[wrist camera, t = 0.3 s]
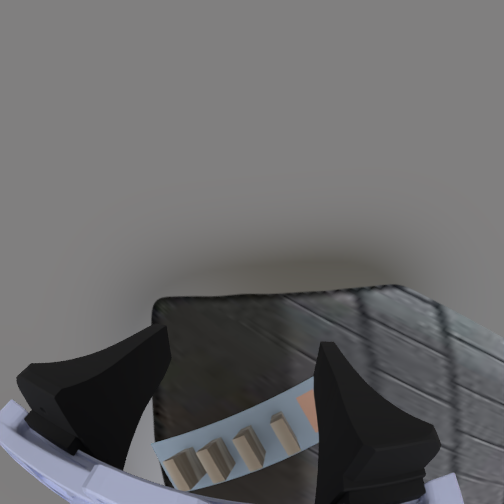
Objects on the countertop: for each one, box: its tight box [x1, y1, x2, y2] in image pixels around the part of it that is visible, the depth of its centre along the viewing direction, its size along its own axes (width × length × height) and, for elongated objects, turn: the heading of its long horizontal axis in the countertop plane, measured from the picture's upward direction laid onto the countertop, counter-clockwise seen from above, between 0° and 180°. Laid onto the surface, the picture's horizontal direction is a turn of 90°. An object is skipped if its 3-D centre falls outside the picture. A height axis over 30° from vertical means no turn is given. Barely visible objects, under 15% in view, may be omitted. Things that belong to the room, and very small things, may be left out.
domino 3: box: [232, 425, 266, 472], centre depth 29 cm, size 2×5×9 cm, turn 26°
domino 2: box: [196, 437, 236, 484], centre depth 28 cm, size 2×5×9 cm, turn 26°
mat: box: [151, 376, 319, 492], centre depth 33 cm, size 32×10×1 cm, turn 117°
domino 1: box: [163, 447, 207, 491], centre depth 28 cm, size 2×5×9 cm, turn 26°
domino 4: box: [270, 411, 301, 456], centre depth 30 cm, size 2×5×9 cm, turn 27°
